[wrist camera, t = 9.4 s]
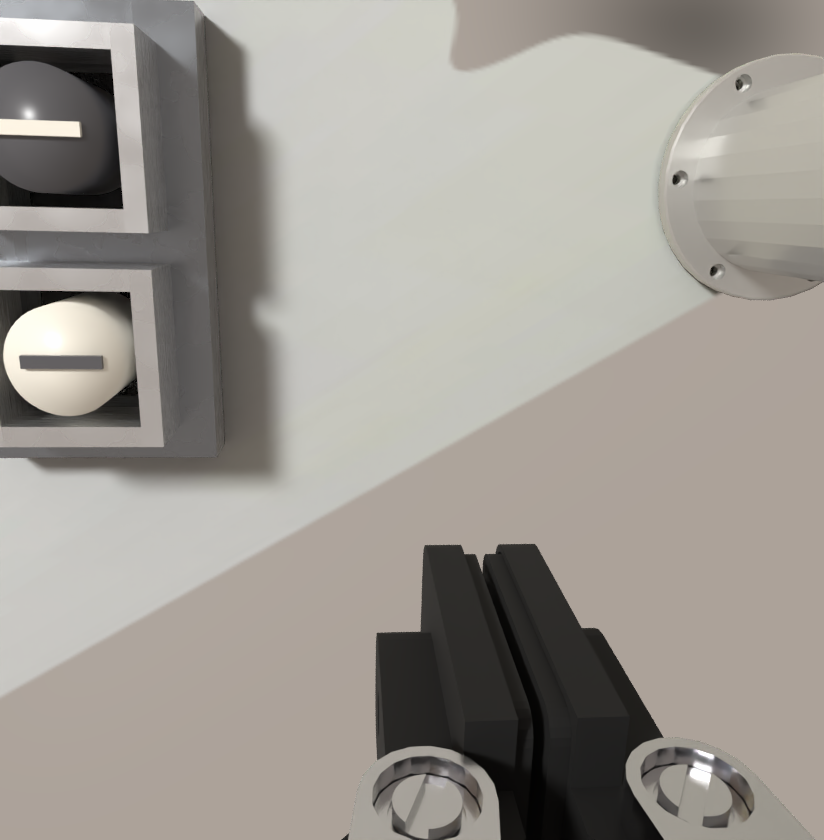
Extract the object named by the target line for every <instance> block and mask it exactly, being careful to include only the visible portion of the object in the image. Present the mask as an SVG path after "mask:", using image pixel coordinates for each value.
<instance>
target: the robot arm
mask: <svg viewBox="0 0 824 840" xmlns="http://www.w3.org/2000/svg"><path fill="white" fill-rule="evenodd" d="M736 81H737V82H738V83H739V88H738V90H737V89H736V85H735V82H736ZM673 175H675V176H676V177H677V182H676V183H675V184H673V183H672V178H673ZM658 200H659V212H660V217H661V222H662V227H663V231H664V233H665V235H666V238H667V240H668V243H669V245H670V247H671V250H672V251H673V252H674V254H675V255H676V257H677V258H678V260H679V261H680V263H681V264H682V266H683V267H684V268H685V269H686V270H687V271H688V272H690V273H691V274H692V275H693V276H694V277H695V278H696V279H697V280H698V281H700V282H702V283H703V284H705V285H707V286H708V287H710V288H712V289H713V290H715V291H718V292H721V293H724V294H727V295H730V296H733V297H738V298H744V299H748V300H774V299H779V298H785V297H791V296H794V295H796V294H799V293H801V292H804V291H807V290H810V289H812V288H814V287H815V286H817V285H819V284H820V283H822V282H824V58H823V57H820V56H814V55H807V54H801V53H793V54H792V53H791V54H776V55H772V56H769V57H765V58H762V59H758V60H755V61H752V62H749V63H747V64H744V65H742V66H739V67H737V68H735V69H733V70H731V71H730V72H728V73H727V74H725V75H723V76H722V77H720V78H719V79H717V80H715V81H714V82H713V83H712V84H711V85H710V86H709V87H707V88H706V89H705V90H704V91H703V92H702V93H701V94H700V95H699V96H698V97H696V99H695V100H694V101H693V103H692V104H691V105H690V106H689V108H688V109H687V110H686V112H685V113H684V114H683V115H682V117H681V118H680V120H679V122H678V124H677V126H676V128H675V130H674V132H673V133H672V135H671V137H670V139H669V142H668V145H667V148H666V151H665V154H664V157H663V160H662V164H661V170H660V177H659V183H658ZM711 267H713V268H714V271H713V273H712V274H711V275H710V270H711ZM421 608H422V609H421V632H391V633H377V638H376V743H377V761H376V762H375V763H374V764H373V765H372V766H371V767H370V768H369V769H368V770H367V771H366V772H365V774H364V775H363V777H362V780H361V782H360V785H359V787H358V790H357V794H356V800H355V805H354V811H353V816H352V821H351V827H350V832H349V834H348V835H346V836H345V837H344V838H343V839H342V840H815V839H814V838H813V837H812V836H811V835H810V833H809V832H808V831H807V830H806V829H805V828H804V827H803V826H802V825H801V823H800V822H799V821H798V820H797V819H796V818H795V817H794V816H793V815H792V814H791V813H790V811H789V810H788V809H787V808H786V807H785V806H784V805H783V804H782V803H781V802H780V801H779V799H778V798H777V797H776V796H775V795H774V794H773V793H772V792H771V791H770V790H769V789H768V788H767V786H766V785H765V784H764V783H763V782H762V781H761V780H760V779H759V778H758V776H756V774H754V773H753V772H752V771H751V770H750V769H749V768H748V767H746V766H745V765H744V764H743V763H742V762H741V761H740V760H738V759H736V758H735V757H733V756H731V755H730V754H728V753H726V752H724V751H722V750H721V749H719V748H716V747H713V746H711V745H708V744H705V743H702V742H700V741H695V740H690V739H684V738H664V737H663V736H662V734H661V732H660V731H659V729H658V727H657V726H656V724H655V722H654V720H653V719H652V717H651V715H650V714H649V712H648V710H647V709H646V707H645V706H644V704H643V702H642V700H641V699H640V697H639V695H638V693H637V692H636V690H635V688H634V687H633V685H632V683H631V682H630V680H629V678H628V676H627V675H626V673H625V671H624V670H623V668H622V666H621V664H620V663H619V661H618V659H617V658H616V656H615V655H614V653H613V651H612V649H611V648H610V646H609V644H608V643H607V641H606V639H605V637H604V636H603V634H602V633H601V632H600V631H599V630H598V629H596V628H581V626H580V625H579V623H578V621H577V619H576V617H575V615H574V613H573V612H572V610H571V608H570V606H569V604H568V603H567V601H566V599H565V597H564V595H563V593H562V592H561V590H560V588H559V586H558V584H557V582H556V581H555V579H554V577H553V575H552V573H551V571H550V570H549V568H548V566H547V564H546V562H545V560H544V559H543V557H542V555H541V554H540V551H539V550H538V548H537V546H536V545H535V544H506V545H504V544H503V545H501V544H500V545H498V547H497V549H496V554H485V556H484V560H483V573H482V571H481V569H480V566H479V563H478V560H477V557H476V555H475V554H464V552H463V549H462V546H461V545H425V547H424V553H423V576H422V607H421Z"/></svg>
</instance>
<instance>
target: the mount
mask: <svg viewBox="0 0 824 840" xmlns="http://www.w3.org/2000/svg"><path fill="white" fill-rule="evenodd" d="M20 61H36V62H42V63H46V64H49V65H52V66H54V67H57V68H59V69H61V70H63V71H65V72H87V73H112V74H113V85H114V97H115V110H116V122H117V135H118V147H119V159H120V172H121V184H122V197H123V208H97V207H58V206H31V202H30V194H29V190H26V189H23V188H20V187H18V186H16V185H14V184H12V183H10V182H9V181H7V180H6V179H4V178H3V177H2V176H1V175H0V458H133V457H217V456H218V455H219V453H220V451H221V449H222V447H223V445H224V443H225V440H224V419H223V398H222V377H221V356H220V335H219V314H218V293H217V272H216V251H215V231H214V210H213V189H212V168H211V147H210V126H209V105H208V84H207V63H206V42H205V21H204V14H203V13H202V11H201V10H200V9H199V7H198V6H197V5H196V4H195V2H194V1H178V0H0V68H1V67H3V66H5V65H8V64H11V63H14V62H20ZM41 291H103V292H130V296H131V309H132V321H133V334H134V346H135V359H136V371H137V384H138V395H115V396H113V397H112V398H111V399H110V400H108V401H107V402H106V403H105V404H103V405H102V406H100V407H99V408H97V409H96V410H94V411H91V412H89V413H86V414H82V415H77V416H61V415H55V414H51V413H48V412H45V411H43V410H41V409H39V408H37V407H35V406H33V405H32V404H30V403H29V402H28V401H26V400H25V399H24V398H23V397H22V396H21V395H20V394H19V393H18V392H17V390H16V389H15V388H14V386H13V385H12V383H11V381H10V379H9V377H8V375H7V372H6V369H5V365H4V357H3V352H4V344H5V340H6V337H7V334H8V332H9V330H10V329H11V327H12V326H13V324H14V323H15V322H16V321H17V320H18V319H19V318H20V317H21V316H23V315H24V314H25V313H27V312H29V311H31V310H33V309H35V308H38V307H41V306H42V299H41Z"/></svg>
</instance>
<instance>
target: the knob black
mask: <svg viewBox="0 0 824 840" xmlns="http://www.w3.org/2000/svg"><path fill="white" fill-rule="evenodd" d="M0 175H1V176H2V177H3V178H4V179H6V180H7V181H9V182H10V183H12V184H14V185H16V186H18V187H20V188H23V189H26V190H29V191H33V192H39V193H56V194H77V195H101V194H106V193H109V192H112V191H114V190H116V189H118V188H119V187H121V186H122V184H121V172H120V159H119V147H118V135H117V122H116V110H115V97H114V96H113V95H112V94H110V93H108V92H107V91H105V90H103V89H101V88H99V87H97V86H94V85H92V84H90V83H88V82H86V81H84V80H82V79H80V78H78V77H76V76H73V75H71V74H69V73H67V72H65V71H63V70H61V69H59V68H57V67H54V66H52V65H49V64H46V63H42V62H36V61H20V62H14V63H11V64H8V65H5V66H3V67H1V68H0Z"/></svg>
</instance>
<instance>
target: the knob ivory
mask: <svg viewBox="0 0 824 840" xmlns="http://www.w3.org/2000/svg"><path fill="white" fill-rule="evenodd" d="M3 357H4V365H5V369H6V372H7V375H8V377H9V379H10V381H11V383H12V385H13V386H14V388H15V389H16V390H17V392H18V393H19V394H20V395H21V396H22V397H23V398H24V399H25V400H26V401H28V402H29V403H30V404H32V405H33V406H35V407H37V408H39V409H41V410H43V411H45V412H48V413H51V414H55V415H61V416H77V415H82V414H86V413H89V412H91V411H94V410H96V409H97V408H99V407H100V406H102V405H103V404H105V403H106V402H107V401H108V400H110V399H111V398H112V397H113V396H115V395H116V394H117V393H118V392H120V391H121V390H122V389H123V388H125V387H126V386H127V385H128V384H130V383H131V382H132V381H133V380H135V379H136V378H137V371H136V359H135V346H134V334H133V321H132V309H131V300H130V299H128V298H126V297H124V296H122V295H120V294H117V293H114V292H103V291H89V292H85V293H82V294H79V295H76V296H73V297H69V298H66V299H63V300H60V301H57V302H54V303H51V304H48V305H44V306H41V307H38V308H35V309H33V310H31V311H29V312H27V313H25V314H24V315H23V316H21V317H20V318H19V319H18V320H17V321H16V322H15V323H14V324H13V326H12V327H11V329H10V330H9V332H8V334H7V337H6V340H5V344H4V352H3Z"/></svg>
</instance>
